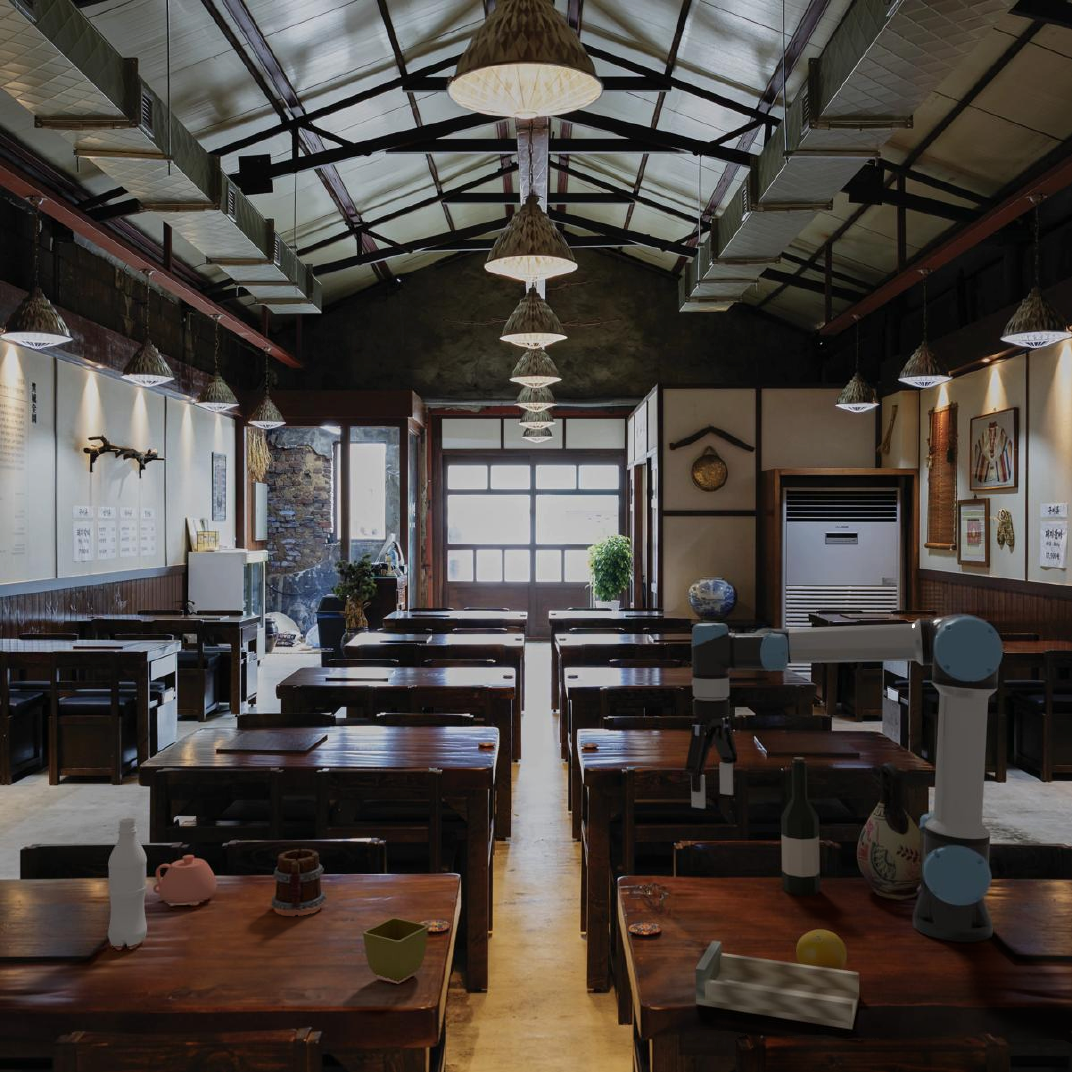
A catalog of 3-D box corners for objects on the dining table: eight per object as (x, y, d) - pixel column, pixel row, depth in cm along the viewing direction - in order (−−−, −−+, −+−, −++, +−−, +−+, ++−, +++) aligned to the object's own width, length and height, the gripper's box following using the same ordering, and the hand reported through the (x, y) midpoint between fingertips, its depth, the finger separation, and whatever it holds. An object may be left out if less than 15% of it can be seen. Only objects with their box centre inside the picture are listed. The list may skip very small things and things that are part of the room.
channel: (859, 995, 174) (858, 960, 174) (852, 1029, 162) (851, 991, 162) (713, 973, 184) (712, 940, 184) (695, 1003, 171) (695, 968, 171)
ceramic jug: (849, 882, 234) (846, 753, 235) (915, 882, 234) (913, 753, 235) (871, 907, 217) (868, 769, 218) (943, 907, 217) (940, 768, 218)
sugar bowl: (206, 910, 220) (206, 864, 220) (142, 911, 220) (142, 864, 220) (224, 892, 232) (224, 847, 232) (164, 892, 232) (164, 848, 232)
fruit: (794, 981, 180) (793, 936, 180) (799, 964, 188) (798, 921, 188) (845, 988, 177) (844, 942, 177) (848, 970, 185) (847, 926, 185)
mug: (328, 895, 228) (327, 833, 226) (324, 928, 214) (323, 862, 212) (275, 898, 226) (273, 835, 224) (268, 932, 212) (266, 866, 210)
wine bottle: (821, 896, 225) (819, 762, 225) (783, 894, 226) (781, 761, 227) (818, 884, 233) (816, 755, 234) (781, 882, 235) (779, 754, 235)
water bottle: (154, 942, 201) (154, 817, 202) (126, 955, 195) (126, 826, 196) (128, 937, 204) (128, 814, 205) (99, 949, 198) (100, 822, 199)
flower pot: (399, 992, 177) (398, 941, 177) (361, 981, 182) (361, 931, 182) (430, 974, 185) (429, 925, 185) (393, 965, 189) (393, 917, 189)
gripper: (719, 689, 221) (721, 786, 220) (666, 704, 200) (668, 810, 200) (751, 691, 216) (753, 790, 216) (701, 706, 196) (703, 815, 195)
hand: (712, 800), depth 208 cm, fingers open, 13 cm apart
